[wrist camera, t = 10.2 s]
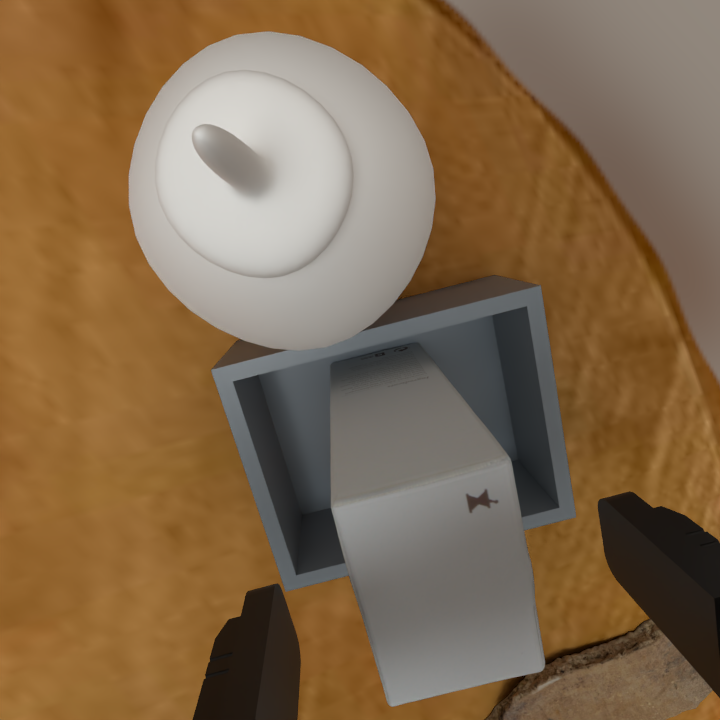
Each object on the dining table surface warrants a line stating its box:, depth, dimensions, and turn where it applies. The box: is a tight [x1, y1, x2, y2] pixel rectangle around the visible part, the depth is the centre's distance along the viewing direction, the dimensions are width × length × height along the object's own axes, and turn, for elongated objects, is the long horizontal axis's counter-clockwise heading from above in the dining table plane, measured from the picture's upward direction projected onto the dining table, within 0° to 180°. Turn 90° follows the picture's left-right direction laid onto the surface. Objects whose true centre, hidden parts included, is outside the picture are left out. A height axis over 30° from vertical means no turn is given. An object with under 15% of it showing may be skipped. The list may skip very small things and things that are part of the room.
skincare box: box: [330, 343, 545, 707], centre depth 17 cm, size 6×4×12 cm
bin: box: [211, 275, 576, 591], centre depth 21 cm, size 10×12×5 cm
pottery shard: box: [485, 619, 712, 720], centre depth 28 cm, size 8×3×15 cm
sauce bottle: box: [129, 32, 436, 351], centre depth 12 cm, size 8×8×18 cm
